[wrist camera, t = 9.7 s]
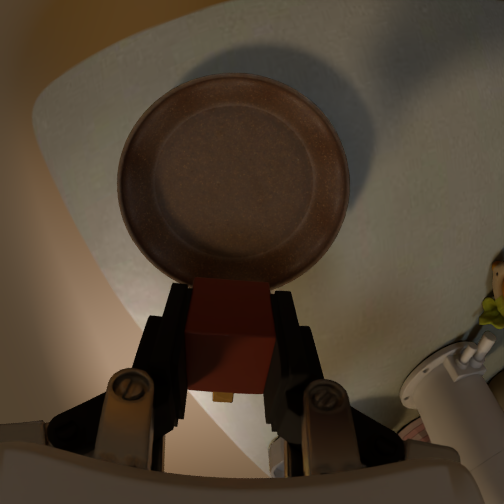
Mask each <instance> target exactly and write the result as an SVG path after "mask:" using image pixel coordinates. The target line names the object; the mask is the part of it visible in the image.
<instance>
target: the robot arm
mask: <svg viewBox="0 0 504 504" xmlns="http://www.w3.org/2000/svg"><path fill="white" fill-rule="evenodd" d="M192 290H193V288H188V285H187V284H180V283H173V284H172V287H171V290H170V293H169V296H168V300H167V303H166V306H165V310H164V313H163V316H162V317H160V316H151V315H150V316H149V318H148V320H147V323H146V326H145V329H144V332H143V335H142V338H141V341H140V344H139V347H138V350H137V353H136V356H135V360H134V363H133V366H132V368H126V369H122V370H120V371H118V372H117V373H115V374H114V375H113V376H112V377H111V378H110V380H109V382H108V386H107V390H106V392H105V393H102V394H100V395H98V396H96V397H94V398H92V399H90V400H88V401H86V402H84V403H82V404H80V405H78V406H76V407H74V408H72V409H69V410H67V411H65V412H63V413H61V414H59V415H57V416H55V417H54V418H53V419H52V420H51V421H50V422H49V423H45V422H44V421H43V420H41V421H32V422H23V423H11V424H0V504H504V413H503V411H502V409H501V407H500V405H499V404H498V402H497V400H496V398H495V397H494V395H493V393H492V392H491V390H490V388H489V387H488V385H487V383H486V382H485V380H484V378H483V377H482V376H483V374H484V373H485V372H486V368H485V367H484V365H483V363H484V361H485V355H486V354H487V352H489V350H490V349H491V347H492V346H493V344H494V343H495V341H496V336H495V335H494V334H493V333H491V332H489V331H486V332H484V334H483V336H482V337H481V339H480V341H479V342H478V345H476V344H475V343H474V342H466V341H464V342H458V343H455V344H451V345H449V346H447V347H445V348H442V349H441V350H439V351H437V352H436V353H434V354H433V355H431V356H430V357H428V358H427V359H426V360H424V361H423V362H422V363H421V364H419V365H418V366H417V367H416V368H415V369H414V370H413V371H412V372H411V374H410V375H409V376H408V377H407V378H406V380H405V382H404V383H403V385H402V387H401V389H400V394H399V395H400V399H401V402H402V404H403V405H404V406H405V407H407V408H410V409H417V410H418V412H419V414H420V417H421V419H422V421H423V424H424V426H425V428H426V431H427V433H428V436H429V438H430V441H431V443H428V442H423V441H418V440H413V439H409V438H408V439H407V440H406V441H405V440H402V439H401V438H400V436H399V435H398V434H397V433H395V432H394V431H392V430H390V429H389V428H387V427H385V426H383V425H382V424H380V423H378V422H376V421H375V420H373V419H371V418H370V417H368V416H366V415H365V414H363V413H361V412H359V411H358V410H356V409H354V408H353V407H351V406H350V402H349V397H348V394H347V392H346V390H345V389H344V388H343V387H342V386H341V385H340V384H338V383H337V382H334V381H332V380H327V379H324V376H323V373H322V369H321V365H320V361H319V358H318V354H317V350H316V346H315V343H314V339H313V335H312V332H311V329H310V327H309V326H299V323H298V319H297V315H296V311H295V307H294V302H293V298H292V294H291V292H290V291H275V294H270V298H271V304H272V311H273V318H274V325H275V332H276V341H275V345H274V350H273V354H272V358H271V363H270V367H269V371H268V376H267V380H266V384H265V388H264V392H263V394H264V406H265V418H266V424H271V427H272V432H277V434H278V435H279V436H280V437H281V438H283V439H284V478H254V479H253V478H250V479H249V478H216V477H202V476H191V475H181V474H173V473H165V472H164V456H165V434H167V433H168V432H170V431H171V430H173V428H174V426H175V427H177V424H178V419H184V413H185V405H186V396H187V389H188V387H187V373H186V356H185V335H184V331H185V325H186V320H187V315H188V310H189V305H190V300H191V295H192Z"/></svg>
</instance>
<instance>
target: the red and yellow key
mask: <svg viewBox="0 0 504 504" xmlns="http://www.w3.org/2000/svg"><path fill="white" fill-rule="evenodd" d="M192 288H193V290H192V295H191V300H190V305H189V310H188V315H187V320H186V325H185V331H184V335H185V356H186V373H187V387H188V390H196V391H208V392H213V401H214V402H230V403H232V402H233V395H234V393H242V394H263V392H264V388H265V384H266V380H267V376H268V371H269V367H270V363H271V358H272V354H273V350H274V345H275V341H276V332H275V325H274V318H273V311H272V304H271V298H270V294H271V292H270V286H269V283H267V282H255V281H240V280H227V279H214V278H201V277H195V278H194V281H193V286H192Z"/></svg>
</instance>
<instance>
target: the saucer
mask: <svg viewBox="0 0 504 504" xmlns="http://www.w3.org/2000/svg"><path fill="white" fill-rule="evenodd" d="M117 192H118V200H119V206H120V211H121V215H122V218H123V221H124V223H125V226H126V228H127V230H128V233H129V235H130V236H131V238H132V240H133V241H134V243H135V244H136V246H137V247H138V249H139V250H140V251H141V253H142V254H143V255H144V256H145V257H146V258H147V259H148V261H149V262H151V263H152V264H153V265H154V266H155V267H156V268H157V269H159V270H160V271H161V272H162V273H164V274H165V275H167V276H168V277H170V278H171V279H173V280H175V281H176V282H178V283H180V284H187V285H188V287H189V288H192V286H193V281H194V278H195V277H201V278H214V279H227V280H240V281H255V282H267V283H269V286H270V290H272V289H275V288H278V287H281V286H283V285H285V284H287V283H289V282H291V281H293V280H295V279H296V278H298V277H299V276H301V275H302V274H304V273H305V272H307V271H308V270H309V269H310V268H311V267H312V266H313V265H315V264H316V263H317V262H318V261H319V260H320V259H321V258H322V256H323V255H324V254H325V253H326V252H327V251H328V249H329V248H330V246H331V245H332V243H333V242H334V240H335V238H336V237H337V235H338V233H339V231H340V228H341V226H342V223H343V221H344V218H345V215H346V211H347V207H348V201H349V192H350V177H349V169H348V163H347V158H346V154H345V151H344V149H343V146H342V143H341V141H340V138H339V137H338V134H337V133H336V131H335V129H334V127H333V125H332V124H331V123H330V121H329V119H328V118H327V117H326V116H325V115H324V113H323V112H322V111H321V110H320V109H319V108H318V107H317V106H316V105H315V104H314V103H313V102H312V101H310V100H309V99H308V98H307V97H305V96H304V95H303V94H301V93H300V92H298V91H296V90H295V89H293V88H291V87H289V86H287V85H285V84H283V83H281V82H279V81H276V80H273V79H270V78H267V77H263V76H259V75H254V74H247V73H222V74H214V75H208V76H204V77H200V78H197V79H194V80H191V81H188V82H186V83H184V84H181V85H179V86H177V87H175V88H174V89H172V90H171V91H169V92H167V93H166V94H165V95H163V96H162V97H160V98H159V99H158V100H157V101H155V102H154V103H153V104H152V105H151V106H150V107H149V108H148V109H147V110H146V111H145V112H144V113H143V115H142V116H141V117H140V118H139V120H138V121H137V123H136V124H135V126H134V127H133V129H132V130H131V132H130V134H129V136H128V138H127V140H126V142H125V145H124V148H123V151H122V154H121V157H120V162H119V167H118V174H117Z"/></svg>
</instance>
